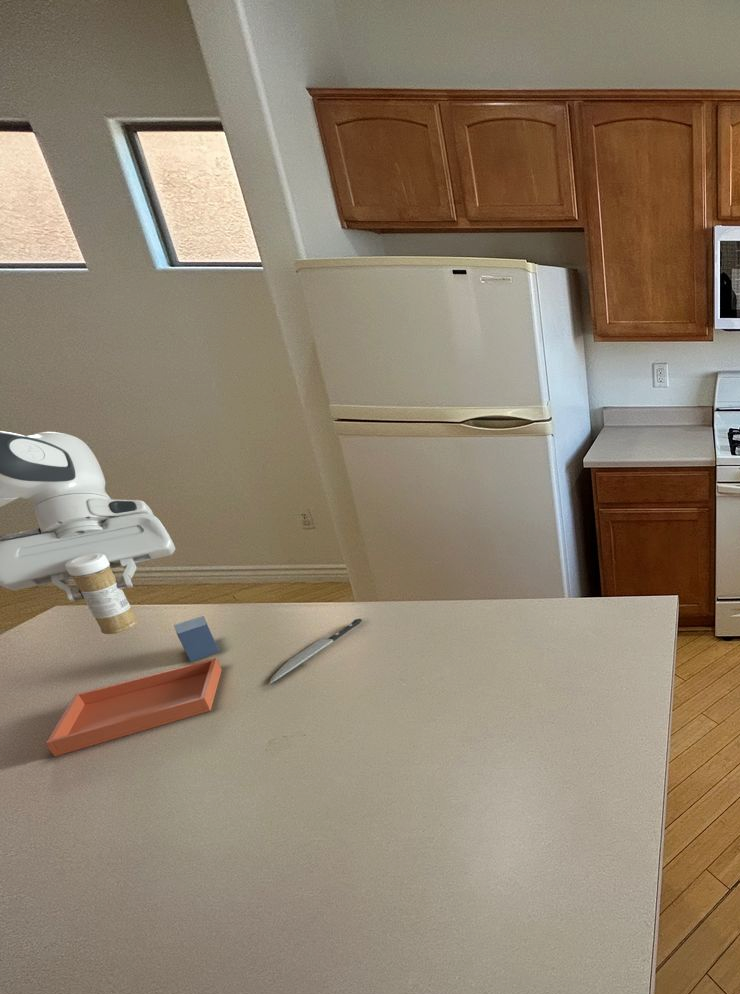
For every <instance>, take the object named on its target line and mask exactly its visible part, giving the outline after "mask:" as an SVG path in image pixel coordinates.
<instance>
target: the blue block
mask: <svg viewBox="0 0 740 994" xmlns="http://www.w3.org/2000/svg"><path fill="white" fill-rule="evenodd" d="M173 626H174V629H175V630H174V631H175V633H176V635H177V637H178V639H179V642H180V643H181V645H182V647H183V650H184V652H185V654H186V656H187V658H188V660H189V662H190V663H191V662H194V661H197V660H199V659H203V658H205V657H208V656H211V655H214V654H217V653H219V652H220V650H219V647H218V645H217V642H216V640H215V639H214V636H213V634H212V631H211V629H210V627H209V625H208V623H207V620H206V618H205V616H204V615H201V616H197V617H195V618H192V619H188V620H185V621H182V622H179V623H176V624H174V625H173Z"/></svg>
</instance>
